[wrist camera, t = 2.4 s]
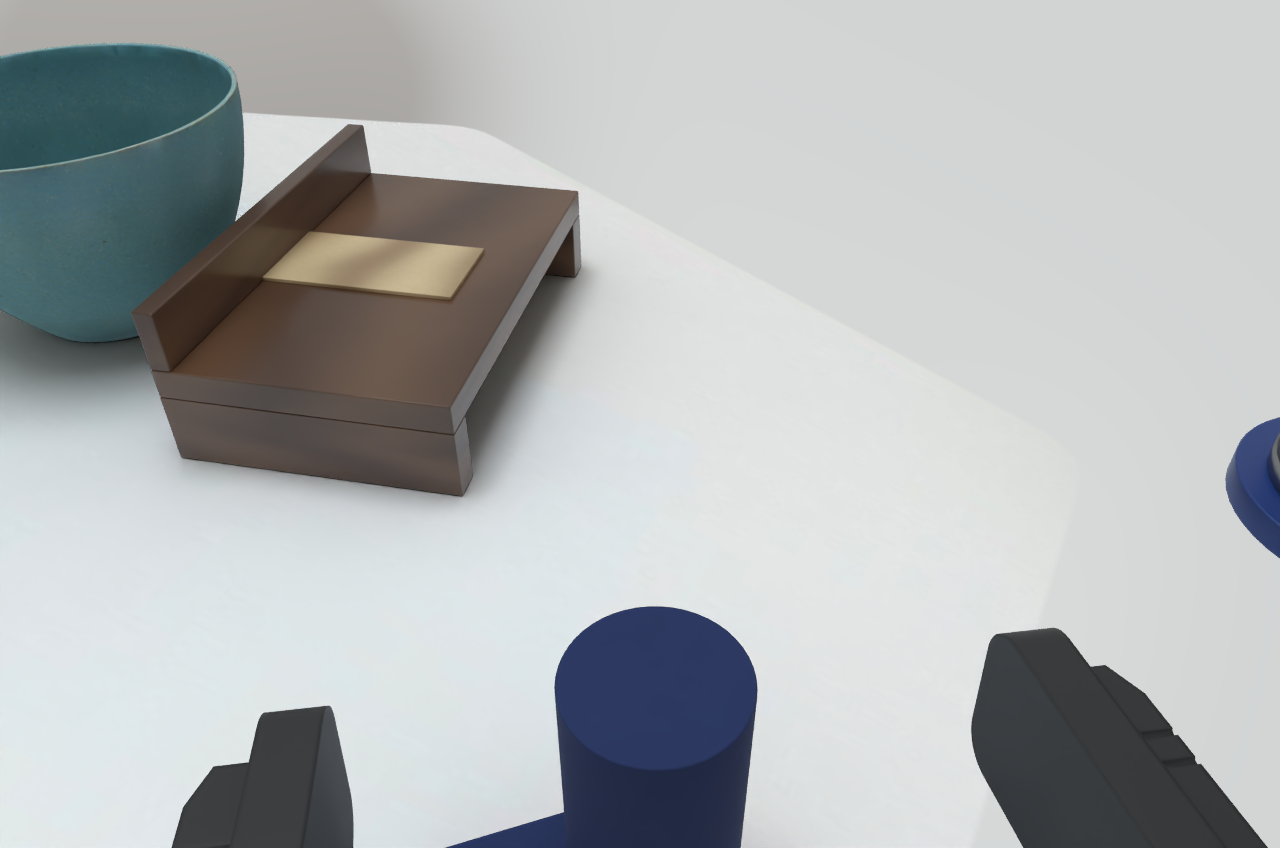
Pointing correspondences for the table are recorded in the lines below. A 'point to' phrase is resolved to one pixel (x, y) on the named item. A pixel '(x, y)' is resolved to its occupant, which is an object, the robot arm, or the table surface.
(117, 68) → the teal bowl
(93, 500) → the table surface
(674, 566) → the table surface
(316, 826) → the robot arm
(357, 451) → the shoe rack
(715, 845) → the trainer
